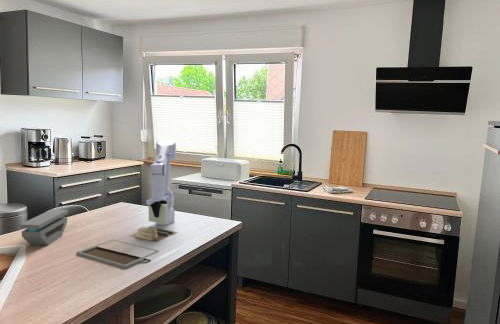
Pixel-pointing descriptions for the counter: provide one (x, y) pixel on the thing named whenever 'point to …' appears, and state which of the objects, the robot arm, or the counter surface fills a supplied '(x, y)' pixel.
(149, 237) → the offcut lower
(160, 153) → the robot arm
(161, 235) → the rack
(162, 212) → the sage green block
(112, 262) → the grey framed board
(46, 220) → the grey slotted block
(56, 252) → the counter surface
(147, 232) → the offcut upper
